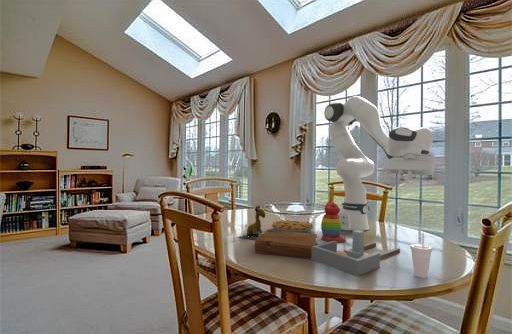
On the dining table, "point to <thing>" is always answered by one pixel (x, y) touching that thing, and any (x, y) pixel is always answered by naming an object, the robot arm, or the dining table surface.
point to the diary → (286, 244)
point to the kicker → (357, 245)
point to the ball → (341, 252)
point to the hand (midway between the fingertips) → (402, 180)
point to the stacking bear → (331, 224)
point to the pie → (292, 226)
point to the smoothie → (421, 258)
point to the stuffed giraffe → (255, 224)
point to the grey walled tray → (344, 259)
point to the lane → (384, 254)
